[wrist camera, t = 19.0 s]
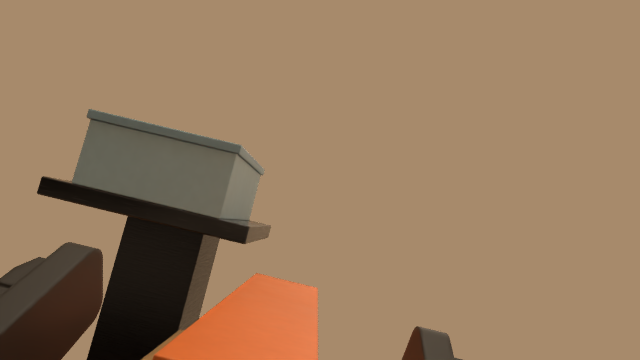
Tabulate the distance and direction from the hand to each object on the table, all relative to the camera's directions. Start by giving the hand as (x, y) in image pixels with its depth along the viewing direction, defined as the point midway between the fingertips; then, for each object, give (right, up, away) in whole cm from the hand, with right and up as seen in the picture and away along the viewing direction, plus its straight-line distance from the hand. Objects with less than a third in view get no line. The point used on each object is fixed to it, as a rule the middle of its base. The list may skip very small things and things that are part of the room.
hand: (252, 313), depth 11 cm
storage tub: (-10, +1, +23) cm, 25 cm away
